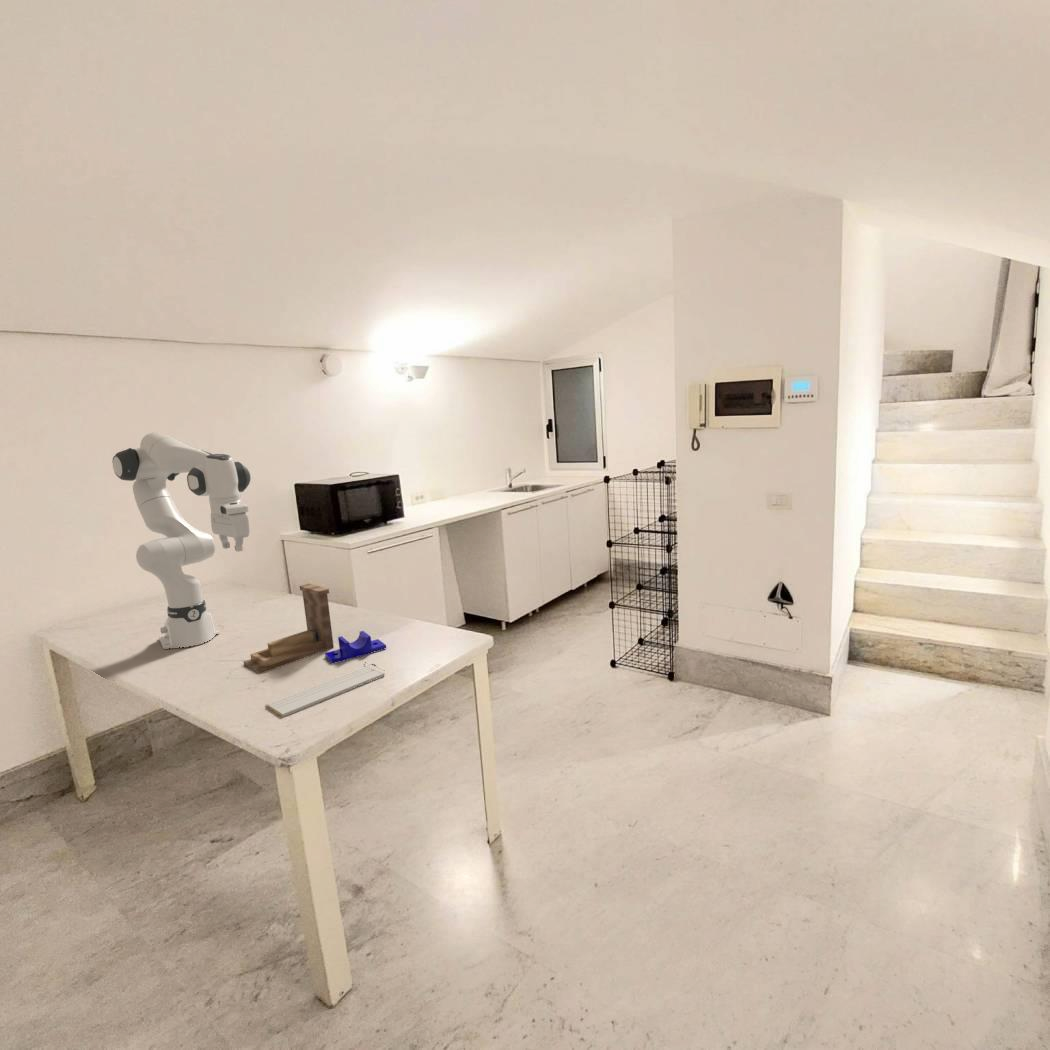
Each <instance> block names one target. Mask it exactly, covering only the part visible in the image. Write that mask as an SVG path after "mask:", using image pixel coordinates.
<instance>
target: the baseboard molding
mask: <svg viewBox="0 0 1050 1050" xmlns="http://www.w3.org/2000/svg"><path fill="white" fill-rule="evenodd" d="M366 664H367V662H366V661H365V662H364V663H363V664H362V665H363V667H361V668H360V667H359V668H357V669H355V670H352V671H350V672H347V673H345V674H342V675H340V676H336V677H333V678H332V679H331V678H330V679H329V680H326V681H324V682H320V683H319V684H315V685H313V686H310V687H307V688H305V689H303V690H299V691H297V692H295V693H292V694H289V695H286V696H284V697H282V698H279V699H277V700H274V701H271V702H269V703H266V704H265V705H266V706H267V708H268V707H269V708H270V710H271V711H272V710H273V711H272V712H274V713H276V714H277V715H279V716H280V717H282V718H285V717H287V716H289V715H291V714H294V713H297V712H300V711H301V710H304V709H307V708H309V707H311V705H312V706H315V705H317V704H319V703H321V702H320V701H322V702H324V701H326V700H329V699H331V698H333V697H332V696H334V697H336V696H338V695H337V694H339V695H341V694H343V693H342V692H344V693H345V691H346V692H348V691H347V690H349V691H351V690H353V689H352V688H354V687H356V688H358V687H360V686H359V685H361V684H363V685H365V684H364V683H366V684H368V683H370V682H369V681H371V680H373V681H375V680H374V679H376V678H378V679H380V678H379V677H381V676H383V677H385V676H386V674H385V672H384V671H383V669H381V668H379V667H378V669H376V667H377V665H376V664H374V663H371V666H372V667H371V666H369V665H367V666H366ZM374 667H375V668H374ZM381 670H382V671H381ZM384 675H385V676H384ZM381 678H382V677H381ZM376 680H377V679H376ZM367 682H368V683H367ZM371 682H372V681H371ZM357 686H358V687H357ZM361 686H362V685H361ZM350 689H351V690H350ZM354 689H355V688H354ZM340 693H341V694H340ZM335 695H336V696H335ZM330 697H331V698H330ZM328 698H329V699H328ZM325 699H326V700H325ZM323 700H324V701H323ZM318 702H319V703H318ZM316 703H317V704H316ZM266 706H265V707H266ZM306 707H307V708H306ZM269 708H268V709H269Z"/></svg>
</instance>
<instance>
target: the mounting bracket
mask: <svg viewBox="0 0 1050 1050" xmlns="http://www.w3.org/2000/svg"><path fill="white" fill-rule="evenodd" d="M337 638H338V640H337V641H338V648H339V649H335V650H332V651H328V652H325V653H324V657H325V659H327V660H328V662H330V664H332V663H333V664H336V663H335V662H337V663H340V662H343V660H344V661H348V660H351V659H355V658H358V657H361V655H362V656H365V654H366V655H369V654H372V653H371V652H373V653H375V652H374V651H377V650H380V651H382V650H381V649H384V648H386V649H387V644H385V643H384V642H382V640H380V639H378V638H377V639H374V640H372V637H371V635H370V634H368V633H367V632H365V631H364V630H361V631H359V635H358V636H357V638H356V639H355V640H354V641H352V642H349V641H348V640H347V639H346V638H344V637H343V636H342V635H341V636H337ZM384 650H385V649H384ZM377 652H378V651H377ZM368 653H369V654H368ZM357 656H358V657H357ZM354 657H355V658H354ZM350 658H351V659H350ZM347 659H348V660H347ZM339 661H340V662H339Z"/></svg>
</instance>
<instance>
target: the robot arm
mask: <svg viewBox="0 0 1050 1050" xmlns="http://www.w3.org/2000/svg"><path fill="white" fill-rule="evenodd" d="M139 444H140V445H139V448H131V447H129V448H126V449H124V450H121V451H119V452H117V453H116V454H115V455H114V456H113V457H112V463H111V464H112V468H113V472H114V474H115V475H116V477H117V478H118V479H120V480H121V481H122V480H123V481H131V482H132V481H134V482H133V484H132V492H133V497H134V500H135V503H136V506H137V508H138V510H139V512H140V515H141V517H142V519H143V521H144V522H143V523H144V524H145V526H146V527H147V528H148V530H150V531H151V532H154V533H156V534H161V535H162V536H165V537H163V538H158V539H153V540H150V541H147V542H145V543H142V544H141V545H139V547H138V548H137V550H136V553H135V554H136V555H135V559H136V563H137V564H138V566H139V567H140V568H141V569H142V570H144V571H146V572H148V573H150V574H152V575H154V576H155V577H157V579H158V580H159V581H160V583H161V584H162V586H163V588H164V591H165V595H166V600H167V605H168V606H167V611H166V612H167V619H166V620H165V622H164V623H163V624H164V626H161V627H160V628H159V629H160V633H161V634H163V635H160V636H159V638H158V640H159V642H160V644H161V647H162V649H163V650H170V649H183V648H182V647H184V648H189V646H191V647H195V646H199V645H201V644H204V642H205V643H207V641H208V642H210V641H211V640H213V639H214V638H215V637H216V636H217V635H216V634H218V633H219V634H220V630H218V629H215V625H214V621H213V617H212V614H211V613H210V612H208V611H207V604H206V600H204V595H203V591H202V583H201V581H200V579H198V578H197V577H196V576H194V575H190V574H185V572H183V569H182V567H184V566H189V565H191V564H192V565H193V564H197V563H198V564H199V563H201V562H203V561H206V560H208V559H210V558H212V557H213V556H214V555H215V553H216V549H217V547H216V546H217V545H216V540H215V539H214V538H213V536H212V535H211V534H209V533H207V532H205V531H203V530H202V531H201V530H200V529H197V528H196V527H194V526H192V524H190V523H188V522H187V521H186V519H184V517H183V516H182V514H181V512H180V511H179V509H178V508H177V507H178V506H177V505H176V504H175V502H174V499H173V498H172V495H171V493H170V491H169V489H168V487H167V481H171V482H172V481H174V480H175V478H176V477H177V476H178V475H180V474H183V473H187V475H186V480H187V486H188V489H189V491H190V492H191V493H193V494H194V495H196V496H198V497H199V496H201V497H207V496H208V500H209V502H208V503H209V507H210V524H211V526H210V527H211V531H212V534H214V535H218V538H219V540H220V542H221V544H222V548H223V549H230V547H231V544H230V542H229V539H228V537H229V538H234V542H235V544H234V551H235V552H239V553H240V552H243V550H244V547H243V543H244V538H248V537H249V536H250V520H249V516H248V512H249V506H248V504H246V503H245V502H244V501H243V500H242V498H241V493H243V492H244V491H245V490H246V489H247V488H248V486H249V485H250V483H251V473H250V471H249V469H248V468H247V467H246V466H245V465H244V464H243V463H242V462H240V461H235V460H234V459H233V457H232V456H231V455H229V454H225V453H222V454H221V453H214V454H213V453H212V452H211V453H210V452H208V451H205V450H203V449H199V448H197V447H196V448H195V447H193V446H190V445H189V444H185V443H184V442H181V441H180V440H178V439H176V438H174V437H173V436H170V435H168V434H165V433H162V432H158V431H157V432H155V431H154V432H150V433H147V434H145V435H144V436H143V437H142V439H141V440H140V443H139ZM219 634H218V635H219ZM215 635H216V636H215ZM214 636H215V637H214ZM213 637H214V638H213ZM212 638H213V639H212ZM209 640H210V641H209ZM194 645H195V646H194ZM179 647H180V648H179ZM169 648H170V649H169Z"/></svg>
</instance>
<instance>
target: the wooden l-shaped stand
mask: <svg viewBox="0 0 1050 1050" xmlns="http://www.w3.org/2000/svg"><path fill="white" fill-rule="evenodd" d="M299 591H301V593H302V599H303V606H304V614H305V622H306V631H307V630H309V629H310V630H313V631H315V632H316V640H317V642H314V643H311V644H308V645H305V646H302V647H300V648H297V649H294V650H291V651H288V652H285V653H282V654H279V655H276V656H273V657H270V658H269V651H268V648H265V649H262V650H260V651H255V652H253V653H251V654H250V659H247V660H244V661H243V665H244V666H246V667H248V668H250V669H251V670H254V671H255V672H258V673H259V674H263V673H265V671H266V672H269V671H272V670H274V669H277V668H280V667H282V665H283V666H285V664H286V665H288V664H291V663H294V662H297V661H300V660H302V658H303V659H305V658H308V657H310V655H311V656H313V654H314V655H316V653H317V654H319V653H322V652H325V651H327V649H328V650H331V649H334V648H335V646H334V638H333V630H332V623H331V616H330V615H331V614H330V606H329V599H328V594H330V590H329V588H328V587H327V588H326V587H324V586H321V585H315V584H313V583H312V584H311V583H306V584H303V585H299ZM333 647H334V648H333ZM330 648H331V649H330ZM318 652H319V653H318ZM307 656H308V657H307ZM304 657H305V658H304ZM299 659H300V660H299ZM296 660H297V661H296ZM290 662H291V663H290ZM268 670H269V671H268ZM262 672H263V673H262Z"/></svg>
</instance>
